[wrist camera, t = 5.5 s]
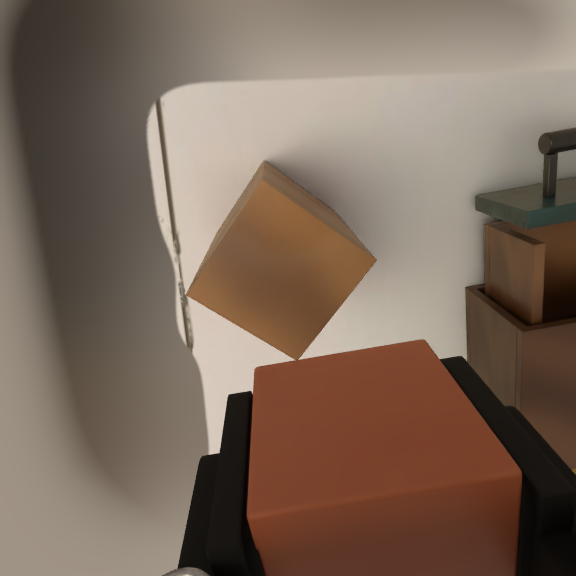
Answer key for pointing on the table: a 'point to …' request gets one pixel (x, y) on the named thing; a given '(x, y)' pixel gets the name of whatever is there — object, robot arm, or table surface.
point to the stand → (280, 263)
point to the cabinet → (527, 368)
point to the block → (377, 470)
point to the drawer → (534, 242)
